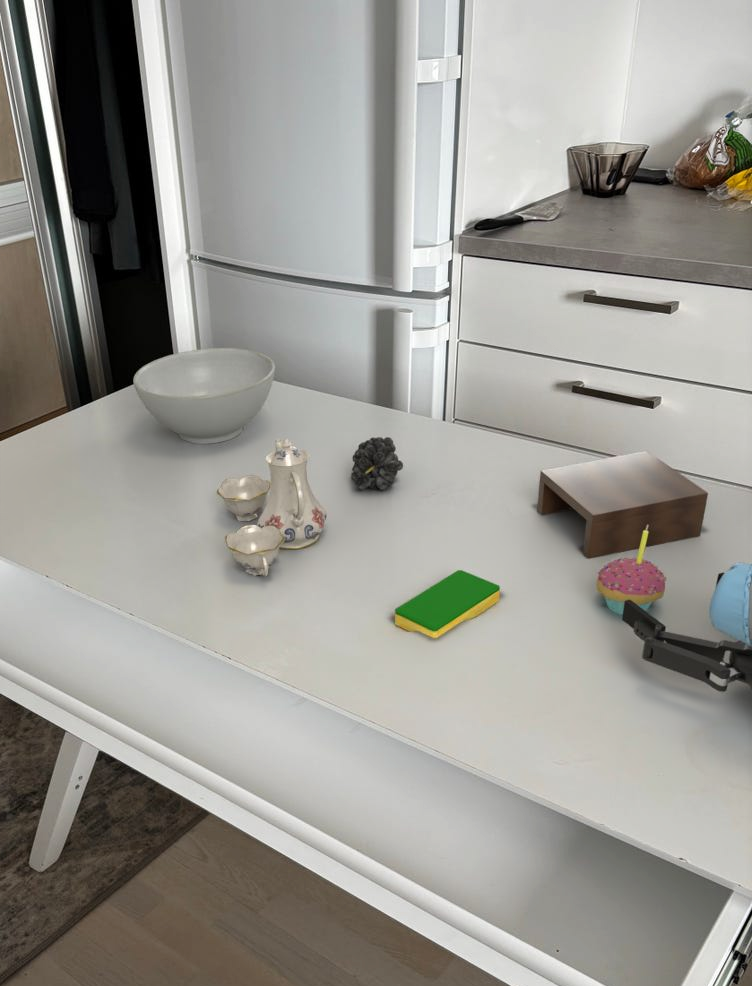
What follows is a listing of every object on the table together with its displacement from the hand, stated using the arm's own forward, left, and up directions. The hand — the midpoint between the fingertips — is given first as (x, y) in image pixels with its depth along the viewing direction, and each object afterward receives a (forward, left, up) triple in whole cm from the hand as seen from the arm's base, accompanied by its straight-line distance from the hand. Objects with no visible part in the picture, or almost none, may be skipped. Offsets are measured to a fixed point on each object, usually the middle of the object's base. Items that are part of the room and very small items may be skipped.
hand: (672, 595), depth 120 cm
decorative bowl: (+41, -92, -7) cm, 100 cm away
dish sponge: (+23, -16, -7) cm, 28 cm away
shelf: (-10, -30, -7) cm, 32 cm away
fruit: (+18, -59, -7) cm, 62 cm away
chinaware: (+40, -45, -7) cm, 60 cm away
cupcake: (+1, -8, -7) cm, 10 cm away
